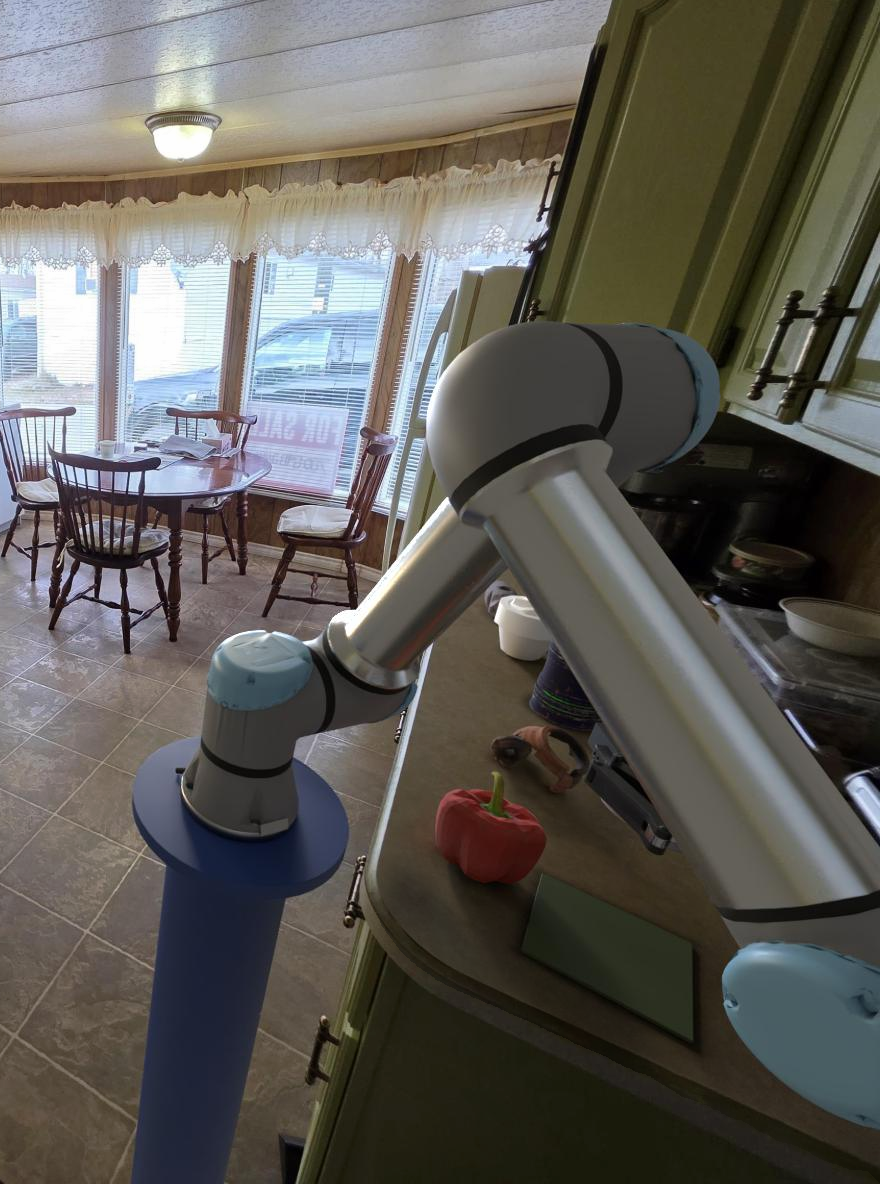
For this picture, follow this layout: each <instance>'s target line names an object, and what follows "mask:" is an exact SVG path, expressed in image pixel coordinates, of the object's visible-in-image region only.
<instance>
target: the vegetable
mask: <svg viewBox="0 0 880 1184" xmlns="http://www.w3.org/2000/svg"><path fill="white" fill-rule="evenodd" d="M491 776H492V778H493V781H494V783H493V790H492V791H489V790H484V789H477V788H472V789H471V790H466V789H461V788H460V789H459V788H458V789H454V790H451V791H449V792H447V793H446V794H445V795H444V797H443V798H442V799H441V801H440V803H439V806H438V808H437V812H436V817H435V842H436V847H437V849H438V850H439V852H440V854H441V856H442V858H443V859H445V860H446V861H447V862H448V863H450V864H452V865H454V866H456V867H459V868H460V869H461V871H462V872H463V873H464V875H465V876H467V877H468V878H470V879H471V880H474V881H475V882H479V883H483V884H487V883H491V882H495V881H497V882H499V883H502V884H514V883H517V882H519V881H522V880H523V879H525V878H526V877H527V876H528V875H529V874H530V872H531V871H532V870H533V869H534V868H535V866H536V865H537V863H538V862H539V860H540V859H541V856H542V855H543V853H544V851H545V849H546V845H547V841H548V838H547V836H546V833H545V830H544V828H543V827H542V825H541V823H540V821H539V820H538V818H537V817H536V816H535V815H534V814H533V813H532V812H531V811H529V810H528V809H527V808H526V807H525V806H521V805H517V804H515V803H512V802H511V801H509V800H508V799H507V798H505V797H504V795H505V781H504V778H503V775H502V774H501V773H499V772H498V771H492V772H491Z"/></svg>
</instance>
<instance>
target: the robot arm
mask: <svg viewBox="0 0 880 1184" xmlns="http://www.w3.org/2000/svg"><path fill="white" fill-rule="evenodd" d="M720 385H721V384H720V375H719V371H718V368H717V366H716V364H715V361H714V359H713V358H712V356H711V355H710V353H709V352H708V351H707V350H706V348H705V347H704V346H702V345H701V344H700V343H699V342H697V341H696V340H695V339H693V338H692V337H690V336H688V335H687V334H684V333H682V332H679V331H676V330H672V329H669V328H662V327H657V326H654V325H652V324H649V323H641V322H627V323H618V324H608V323H607V324H605V323H603V324H602V323H577V322H576V323H575V322H573V323H572V322H560V321H547V320H546V321H545V320H543V321H542V320H541V321H536V320H535V321H533V320H532V321H526V322H520V323H516V324H512V325H508V326H504V327H501V328H499V329H497V330H495V331H492V332H489V333H486V334H485V335H484V336H482V337H481V338H480V339H478V340H476V341H475V342H473V343H471V344H470V345H469V346H467V347H466V348H465V349H463V351H461V352H460V353H459V354H458V355H457V356H456V357H455V358H454V359H453V360H452V361H451V363H450V364H449V365H448V366H447V367H446V369H445V370H444V371H443V372H442V375H441V376H440V378H439V380H438V381H437V383H436V384H435V387H434V389H433V391H432V393H431V397H430V400H429V403H428V407H427V411H426V421H425V422H426V423H425V426H426V429H425V433H426V444H427V448H428V449H427V450H428V453H429V457H430V461H431V465H432V468H433V470H434V473H435V476H436V478H437V481H438V483H439V484H440V485H439V486H441V489H442V490H443V493H444V494H445V496H446V497H445V499H444V500H443V501H442V502H441V504H440V505H439V506H438V508H437V509H436V510H435V511H434V513H433V514H432V515H431V516H430V518H429V519H428V520H427V521H426V522H425V523H424V525H423V526H422V528H421V529H420V530H419V531H418V532H417V533H416V535H415V536H414V538H413V539H412V540H411V541H410V542H409V544H407V546H406V547H405V549H404V550H403V551H402V552H401V554H400V555H399V556H398V557H397V559H396V560H395V561H394V562H393V563H392V564H391V566H390V567H389V569H388V570H387V571H386V572H385V574H383V576H382V577H381V578H380V580H378V582H377V583H376V585H375V586H374V587H373V588H372V590H371V591H370V592H369V593H368V595H367V596H366V597H365V598H364V600H363V601H362V602H361V603H360V604H359V606H358V607H357V608H356V609H349V610H344V611H341V612H340V613H338V614H337V615H335V616H334V617H332V619H331V620H330V622H329V623H328V624H327V625H326V627H325V628H324V629H323V631H322V632H321V633H320V634H319V636H318V637H316V638H314V639H312V640H306V641H301V640H300V639H298V638H296V637H295V636H293V635H289V634H287V633H284V632H279V631H273V632H267V631H266V630H249V631H244V632H240V633H237V634H234V635H232V636H229V637H228V638H226V639H224V641H222V642H221V643H220V644H219V645H218V646H217V647H216V649H215V651H214V652H213V655H212V658H211V662H210V666H209V669H208V673H207V676H206V694H205V702H204V703H205V704H204V711H203V718H202V726H201V734H200V737H201V742H200V745H199V746H198V748H197V750H196V752H195V754H194V755H193V757H192V759H191V761H190V762H189V764H188V766H187V768H184V767H176V769H175V772H176V774H183V777H182V782H181V792H180V793H181V800H182V803H183V806H184V808H185V809H186V811H187V812H188V814H189V815H190V816H191V817H192V818H193V819H194V820H195V821H196V822H197V823H198V824H199V825H200V826H202V827H203V828H205V829H206V830H208V831H210V832H211V833H213V834H215V835H218V836H220V837H223V838H225V839H229V840H232V841H237V842H243V843H264V842H269V841H273V840H276V839H278V838H280V837H282V836H284V835H285V834H286V833H288V832H289V831H290V830H291V829H292V827H293V826H294V824H295V821H296V817H297V813H298V807H299V800H298V794H297V788H296V783H295V778H294V773H293V768H292V760H293V757H294V754H295V750H296V746H297V741H298V740H299V739H300V738H305V737H310V736H313V735H318V734H322V733H323V734H324V733H328V732H332V731H336V730H340V729H345V728H351V727H354V726H359V725H363V724H366V725H367V724H377V723H379V722H383V721H386V720H388V719H390V718H392V717H394V716H397V715H398V714H400V713H402V712H403V711H405V710H406V709H407V708H408V707H409V706H410V704H411V703H412V702H413V700H414V699H415V697H416V694H417V692H418V684H417V683H416V680H418V679H419V677H420V671H421V659H420V656H421V655H422V654H424V652H425V651H427V650H428V648H430V647H431V646H432V644H434V643H435V642H436V640H437V639H439V638H440V637H441V636H442V635H443V634H444V633H445V631H447V630H448V629H449V628H450V627H451V626H452V625H453V623H455V622H456V621H457V620H458V619H459V618H460V617H461V616H462V615H463V614H464V613H465V612H466V611H467V610H468V609H469V608H470V607H471V606H472V605H473V604H474V603H475V602H476V601H477V600H478V599H479V598H480V597H482V595H483V594H485V592H486V590H487V589H488V588H489V587H490V586H491V585H492V584H493V583H494V582H495V581H498V579H499V578H500V577H501V576H502V575H504V573H505V572H506V571H507V570H509V571H510V573H511V574H512V576H513V578H514V579H515V581H516V583H517V584H518V586H519V588H520V590H521V591H522V593H523V594H524V596H526V597H527V599H528V601H529V602H530V604H531V606H532V607H533V609H534V610H535V612H536V614H537V615H538V617H539V619H540V620H541V622H542V624H543V625H544V627H545V628H546V630H547V632H548V633H549V635H550V637H551V638H552V640H553V642H554V643H555V645H556V646H557V648H558V650H559V651H560V653H561V655H562V656H563V658H564V660H565V661H566V663H567V664H568V666H569V668H570V669H571V671H572V673H573V674H574V676H575V678H576V679H577V681H578V682H579V684H580V686H581V687H582V689H583V691H584V692H585V694H586V696H587V697H588V699H589V700H590V702H591V704H592V705H593V707H594V709H595V710H596V712H597V714H598V715H599V717H600V718H601V720H602V723H598V722H596V724H595V726H594V728H593V730H591V733H590V736H589V738H588V740H587V745H588V746H589V747H590V749H591V750H592V752H591V755H590V758H591V760H590V765H589V768H588V771H587V773H586V774H584V778H583V782H584V783H585V785H587V786H588V787H589V788H590V789H591V790H592V791H593V792H594V793H595V794H596V795H597V797H599V798H600V799H602V800H604V801H605V802H606V803H607V804H608V805H609V806H610V807H611V808H612V809H613V810H614V811H615V812H616V813H617V814H618V815H619V816H620V817H621V818H622V819H623V820H624V821H625V822H626V823H627V824H626V823H625V822H624V823H625V824H626V825H628V826H629V827H630V828H631V829H632V830H633V831H634V832H635V833H636V834H638V836H639V838H640V841H642V843H643V845H644V847H645V849H646V850H647V851H648V852H649V853H651V854H653V855H656V856H664V854H665V852H666V850H670V851H674V852H677V853H681V854H683V856H684V857H685V860H686V861H687V862H688V865H689V866H690V867H691V869H692V871H693V872H694V874H695V875H696V877H697V879H698V880H699V882H700V883H701V885H702V887H703V888H704V890H705V892H706V893H707V896H708V898H709V899H710V900H711V902H712V904H713V905H714V907H715V908H716V910H717V912H718V914H719V915H720V916H721V918H722V920H723V922H724V924H725V926H726V928H727V929H728V931H729V932H730V934H731V936H732V938H733V939H734V941H735V942H736V944H737V946H738V947H739V949H738V950H737V951H736V952H735V953H734V955H733V957H732V959H731V960H730V961H729V962H728V963H727V965H726V966H725V968H724V970H723V973H722V975H721V983H722V986H721V990H722V996H723V1000H724V1001H723V1007H724V1010H725V1013H726V1016H727V1018H728V1019H729V1021H730V1023H731V1026H732V1027H733V1029H734V1030H735V1032H736V1034H737V1035H738V1037H739V1038H740V1039H741V1041H742V1042H743V1044H744V1045H745V1046H746V1048H747V1049H748V1050H749V1051H750V1052H751V1053H752V1054H753V1055H754V1056H755V1057H756V1058H757V1060H758V1061H759V1062H760V1063H761V1064H762V1065H763V1066H764V1067H765V1068H766V1069H767V1070H768V1071H769V1072H770V1073H772V1075H774V1077H776V1078H777V1080H779V1081H780V1082H782V1083H783V1084H784V1085H786V1086H787V1087H788V1088H789V1089H791V1090H792V1091H794V1092H795V1093H797V1095H799V1096H801V1097H802V1098H803V1099H805V1100H807V1101H808V1102H810V1103H812V1104H814V1105H815V1106H816V1107H818V1108H820V1109H823V1110H824V1111H826V1112H828V1113H830V1114H832V1115H834V1116H836V1117H839V1118H841V1119H844V1120H846V1121H849V1122H851V1123H854V1124H856V1125H860V1126H862V1127H866V1128H872V1129H875V1130H878V1131H880V846H879V844H878V843H877V841H876V840H875V839H874V837H873V835H872V834H871V833H870V832H869V831H868V829H867V828H866V826H865V825H864V824H863V823H862V821H861V819H860V818H859V816H858V815H857V814H856V813H855V812H854V810H853V809H852V807H851V805H849V803H848V802H847V800H846V799H845V798H844V796H843V795H842V794H841V792H840V790H838V788H837V786H835V784H834V783H833V781H832V780H831V778H830V777H829V776H828V774H827V773H826V772H825V770H824V769H823V767H822V766H821V765H820V764H819V762H818V761H817V759H816V758H815V757H814V755H813V754H812V752H811V751H810V750H809V749H808V747H807V746H806V744H805V743H804V742H803V740H802V738H800V736H799V735H798V733H797V732H796V730H795V729H794V728H793V727H792V725H791V724H790V723H789V721H788V719H787V718H786V717H785V716H784V714H783V712H782V711H781V710H780V709H779V708H778V706H777V705H776V703H775V702H774V701H773V699H772V698H771V697H770V695H769V694H768V692H767V691H766V690H765V688H764V687H763V686H762V684H761V683H760V682H759V680H758V678H757V677H756V675H754V673H753V672H752V670H751V669H750V668H749V666H748V665H747V664H746V663H745V661H744V660H743V658H742V657H741V656H740V654H739V652H737V650H736V649H735V647H734V646H733V645H732V643H731V642H730V640H729V639H728V637H727V636H726V635H725V634H724V632H723V631H722V630H721V628H720V627H719V625H718V623H716V621H715V620H714V618H713V617H712V616H711V614H710V613H709V612H708V611H707V609H706V607H705V606H704V604H703V603H702V602H701V601H700V599H699V598H698V597H697V595H696V593H694V591H693V590H692V588H691V587H690V586H689V584H688V583H687V581H686V580H685V579H684V577H683V576H682V575H681V573H680V572H679V571H678V569H677V568H676V567H675V565H674V564H673V563H672V561H671V559H669V557H668V556H667V554H666V553H665V551H664V550H663V549H662V548H661V546H660V545H659V543H658V542H657V541H656V539H655V538H654V537H653V535H652V534H651V532H650V531H649V529H648V527H646V526H645V524H644V522H643V521H642V520H641V518H640V517H639V516H638V514H637V513H636V512H635V510H634V508H633V507H632V506H631V505H630V503H629V502H628V501H627V500H626V498H625V497H624V495H623V494H622V493H621V491H620V490H619V488H620V487H621V486H622V485H623V484H624V483H626V482H627V481H628V479H630V477H632V476H633V475H634V474H635V473H645V472H650V471H654V470H657V469H660V468H662V467H664V466H665V465H668V464H670V463H673V462H674V461H676V460H679V458H682V457H684V456H685V455H686V454H687V453H689V452H690V451H692V450H693V449H694V448H695V447H696V446H697V445H698V444H699V443H700V442H701V441H702V439H703V438H704V437H705V435H706V434H707V433H708V431H709V430H710V429H711V427H712V425H713V424H714V421H715V418H716V416H717V415H718V414H717V413H718V410H719V406H720V402H721V393H720ZM602 800H601V801H602Z"/></svg>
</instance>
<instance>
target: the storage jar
mask: <svg viewBox="0 0 880 1184" xmlns="http://www.w3.org/2000/svg"><path fill="white" fill-rule="evenodd" d="M528 702H529V706H530V708H531V709H532V710H533V712H534V713H536V714H537V715H538V716H540V717H542V718H543V719H545V720H546V721H548V722H551V723H553V724H555V725H558V726H561V727H564V728H568V729H572V730H575V731H577V730H578V731H593V728H594V726H595V724H596V722H598V723H603V722H602V720H601V718H600V717H599V715H598V714H597V712H596V710H595V709H594V707H593V705H592V704H591V702H590V700H589V699H588V697H587V696H586V694H585V692H584V691H583V689H582V687H581V686H580V684H579V682H578V681H577V679H576V678H575V676H574V674H573V673H572V671H571V669H570V668H569V666H568V664H567V663H566V661H565V660H564V658H563V656H562V655H561V653H560V651H559V650H558V648H557V646H556V645H555V643H554V642H553V640H551V645H550V647H549V648H548V651H547V658H546V661H545V664H544V666H543V668H542V671H541V672H540V673H539V675H538V677H537V680H536V681H535V683H534V686H533V691H532V696H531V697H530V700H529V701H528Z"/></svg>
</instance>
